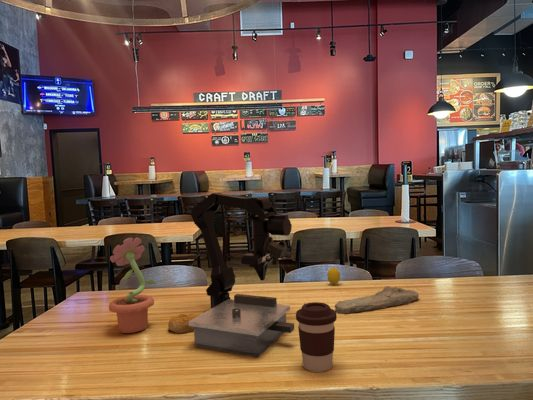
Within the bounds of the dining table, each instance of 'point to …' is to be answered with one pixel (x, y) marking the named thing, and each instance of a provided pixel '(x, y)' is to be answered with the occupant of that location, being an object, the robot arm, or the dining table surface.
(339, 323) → the dining table surface
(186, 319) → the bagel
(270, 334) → the grey metal box
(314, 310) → the coffee cup
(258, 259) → the robot arm
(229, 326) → the lid
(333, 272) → the lemon
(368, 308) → the elongated rock
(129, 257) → the decorative flower
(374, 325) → the dining table surface
